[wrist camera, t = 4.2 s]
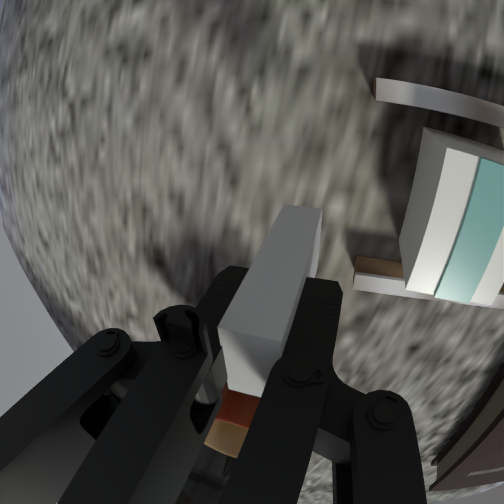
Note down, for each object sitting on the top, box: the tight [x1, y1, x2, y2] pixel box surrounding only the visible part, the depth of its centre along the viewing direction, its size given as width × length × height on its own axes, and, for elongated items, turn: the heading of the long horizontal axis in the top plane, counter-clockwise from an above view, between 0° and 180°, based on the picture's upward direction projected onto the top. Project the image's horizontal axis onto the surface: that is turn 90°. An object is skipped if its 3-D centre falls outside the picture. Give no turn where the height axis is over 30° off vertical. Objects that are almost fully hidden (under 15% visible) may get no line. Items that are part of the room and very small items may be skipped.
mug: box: [204, 381, 261, 458], centre depth 27 cm, size 12×9×10 cm
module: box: [398, 127, 504, 305], centre depth 15 cm, size 6×8×6 cm
